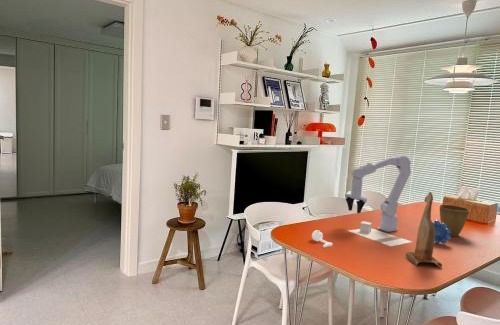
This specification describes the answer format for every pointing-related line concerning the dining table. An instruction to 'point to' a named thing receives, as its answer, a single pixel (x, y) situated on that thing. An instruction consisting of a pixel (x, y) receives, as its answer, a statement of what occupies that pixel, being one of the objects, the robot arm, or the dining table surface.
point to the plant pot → (453, 218)
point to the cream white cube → (365, 227)
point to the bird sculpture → (424, 237)
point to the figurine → (320, 238)
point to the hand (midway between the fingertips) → (354, 211)
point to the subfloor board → (381, 237)
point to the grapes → (441, 232)
